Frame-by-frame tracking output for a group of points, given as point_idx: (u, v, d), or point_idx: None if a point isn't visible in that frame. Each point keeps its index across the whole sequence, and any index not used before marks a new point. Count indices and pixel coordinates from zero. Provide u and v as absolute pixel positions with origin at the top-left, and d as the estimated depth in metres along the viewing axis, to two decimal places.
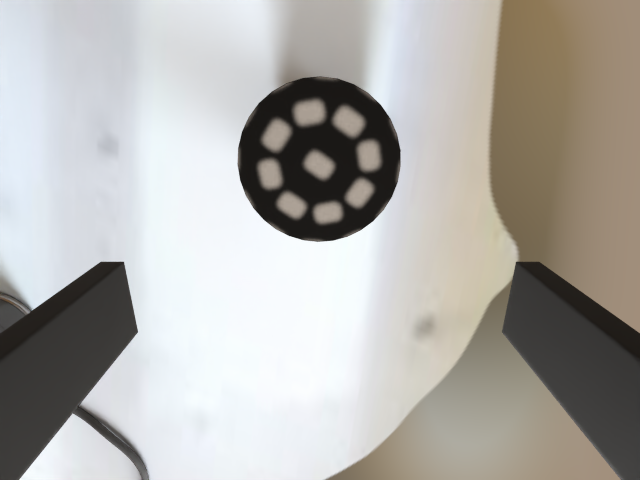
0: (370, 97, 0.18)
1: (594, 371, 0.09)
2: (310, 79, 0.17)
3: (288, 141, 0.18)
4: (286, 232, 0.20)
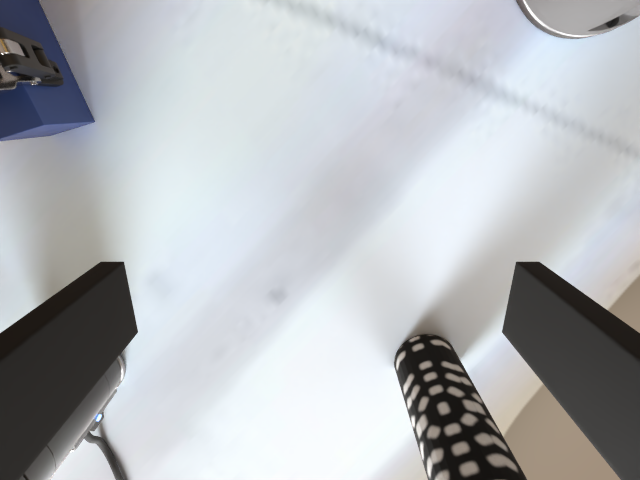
0: None
1: (594, 371, 0.09)
2: None
3: None
4: None
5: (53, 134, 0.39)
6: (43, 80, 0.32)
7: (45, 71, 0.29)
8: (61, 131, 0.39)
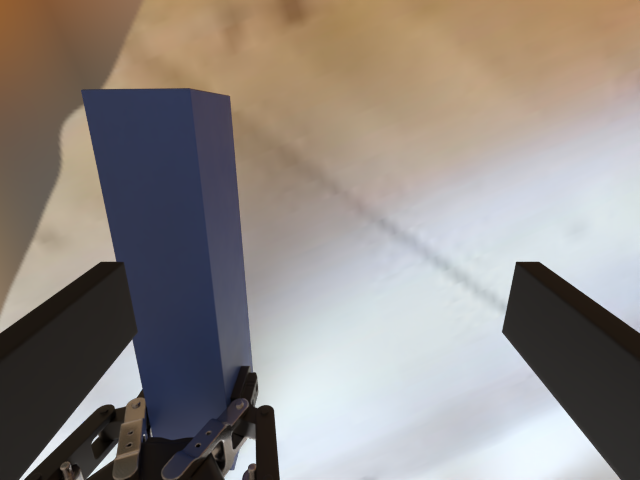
0: None
1: (594, 371, 0.09)
2: None
3: None
4: None
5: None
6: None
7: None
8: None
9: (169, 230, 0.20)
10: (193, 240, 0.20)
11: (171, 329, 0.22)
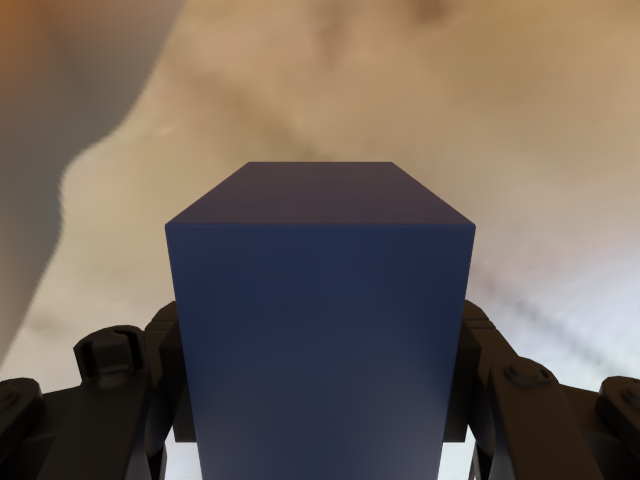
0: None
1: None
2: None
3: None
4: None
5: None
6: None
7: None
8: None
9: None
10: None
11: None
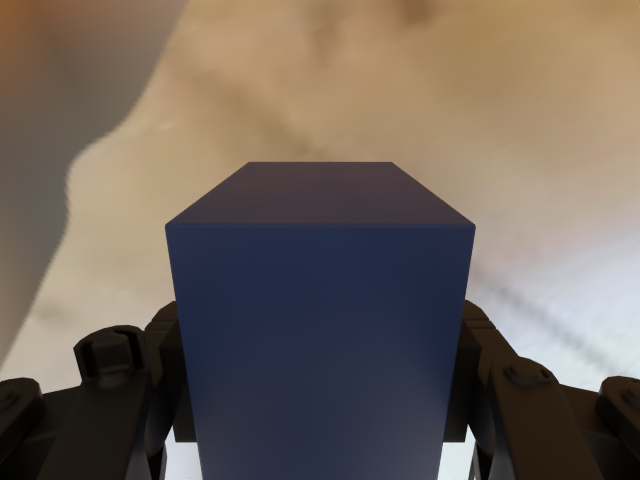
0: None
1: None
2: None
3: None
4: None
5: None
6: None
7: None
8: None
9: None
10: None
11: None
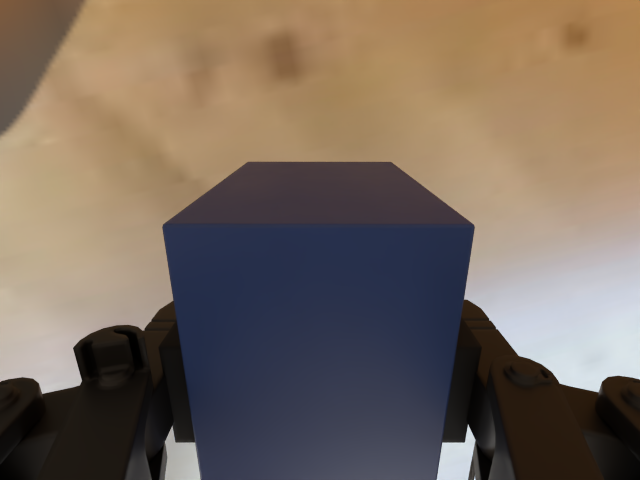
0: None
1: None
2: None
3: None
4: None
5: None
6: None
7: None
8: None
9: None
10: None
11: None
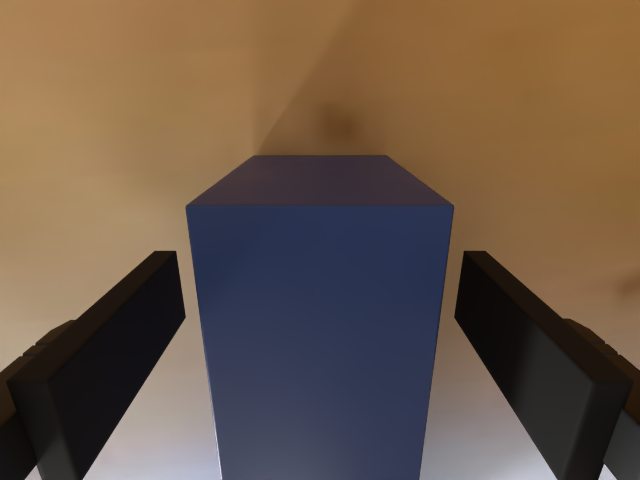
0: None
1: (515, 346, 0.09)
2: None
3: None
4: None
5: None
6: None
7: None
8: None
9: (344, 468, 0.10)
10: None
11: None
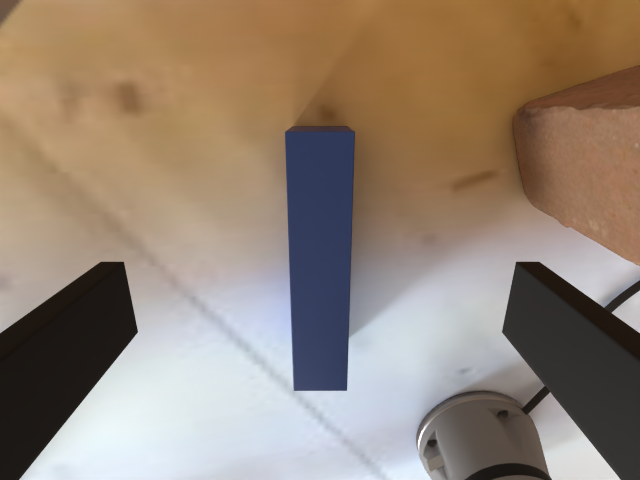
0: None
1: (594, 371, 0.09)
2: None
3: None
4: None
5: None
6: None
7: None
8: None
9: (327, 220, 0.31)
10: (342, 227, 0.31)
11: (318, 288, 0.33)
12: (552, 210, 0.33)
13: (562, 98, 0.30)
